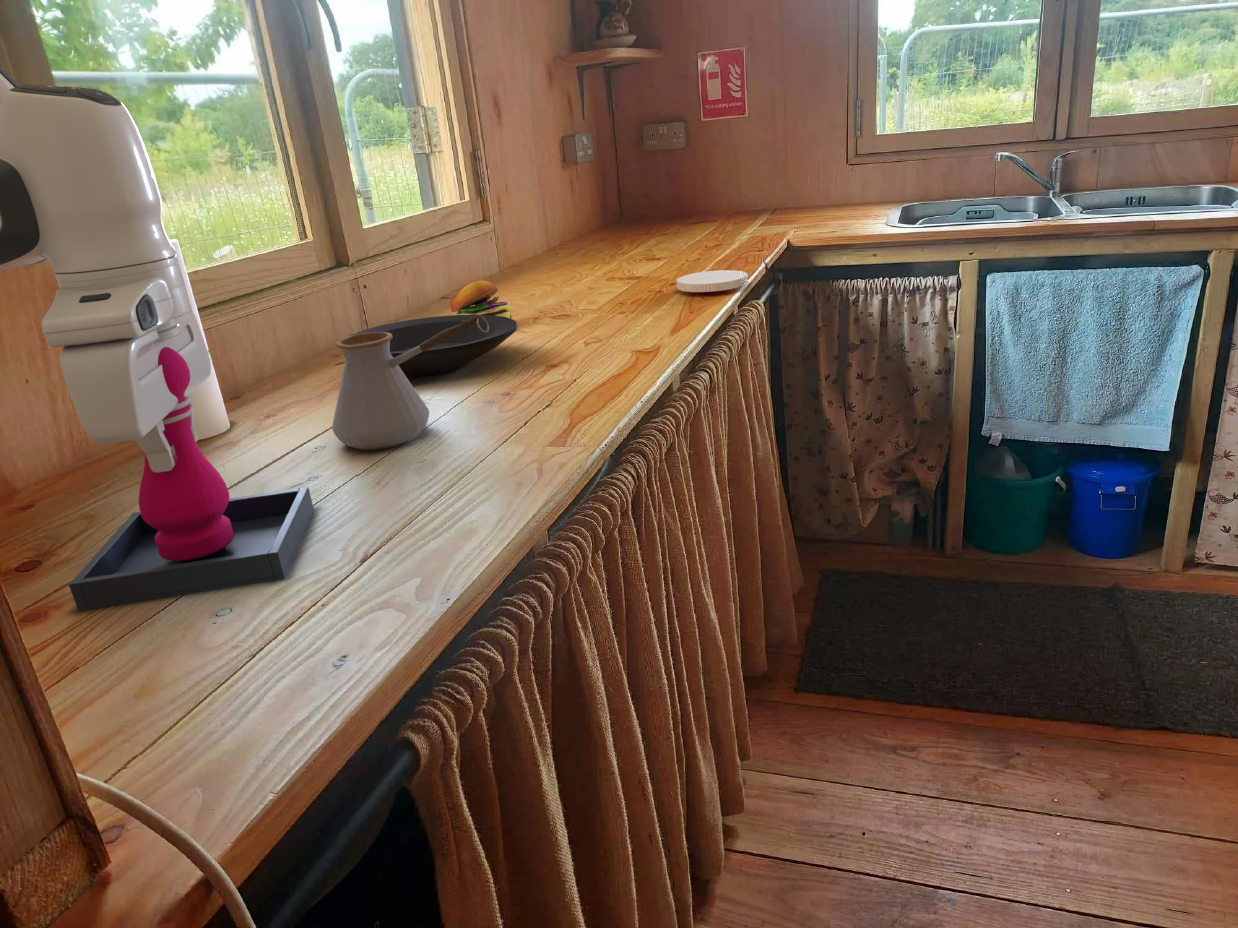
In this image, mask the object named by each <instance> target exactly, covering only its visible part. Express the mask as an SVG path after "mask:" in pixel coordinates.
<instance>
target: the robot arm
mask: <svg viewBox="0 0 1238 928" xmlns="http://www.w3.org/2000/svg"><path fill="white" fill-rule="evenodd" d="M170 240H171V239H170V238H169V237H168V235H167V233H166V230H165V228H164V223H163V219H162V198H161V194H160V189H159V187H158V184H157V180H156V175H155V173H154V171H153V167H152V164H151V161H150V158H149V155H148V151H147V149H146V146H145V144H144V140H143V139H142V135H141V134H140V131H139V128H138V127H137V125H136V123H135V121H134V118H133V117H132V115H131V113H130V112H129V110H128V109H127V108H126V106H125V105H124V104H123V102H122V101H121V100H120V99H118V98H117V97H115V96H114V95H112V94H110V93H108V92H106V91H104V90H103V91H102V90H100V89H95V88H88V87H78V86H67V85H66V86H65V85H64V86H62V85H61V86H59V85H49V84H48V85H47V84H23V85H21V84H20V83H19V82H18V81H17V80H15V78H14V77H13V76H12V75H11V74H10V73H9V72H8V71H6V70H5V68H3V67H2V65H0V272H1V271H5V270H10V269H15V268H22V267H27V266H34V265H38V264H42V263H48V262H49V263H50V265H51V267H52V269H53V272H54V276H55V279H56V283H57V285H58V289H56V291H55V296H54V300H53V301H52V304H51V305H50V307H49V309H48V310H47V312H46V313H45V315H44V316H43V317H42V319H41V329H42V333H43V336H44V339H45V341H46V343H47V345H48V346H49V347H50V348H62V349H61V351H60V355H59V361H60V363H59V364H60V368H61V373H62V376H63V379H64V381H65V384H66V387H67V390H68V393H69V396H70V398H71V401H72V403H73V406H74V409H75V411H76V413H77V416H78V418H79V420H80V424H81V426H82V427H83V429H84V431H85V433H86V434H87V435H88V436H89V437H90V438H91V439H92V440H93V442H95V443H96V444H98V445H111V444H119V443H125V442H126V443H127V442H132V441H134V442H135V443H136V445H137V446H138V447H139V448H140V450H141V451H142V452H143V454H144V453H145V454H146V456H147V459H148V463H149V466H150V469H151V470H152V471H153V472H156V473H158V472H165V471H170V470H171V469H172V468H173V467H174V466H175V465H176V464H177V462H178V458H177V456H176V452H175V448H174V445H169V444H168V442H167V440H166V438H165V436H164V434H163V431H164V430H165V428H164V425H163V421H162V419H163V418H164V417H166V416H167V415H168V414H169V413H170V412H171V411H172V410H173V409H174V408H175V406H176V405H177V404H178V399H177V397H176V396H174V395H173V394H172V393H171V392H170V391H169V389H168V387H167V384H166V382H165V378H164V375H163V369H162V365H158V356H159V353H160V351H161V349H162V348H164V347H169V348H171V349H173V350H175V351H176V352H178V353H179V354H180V355H181V356H182V357H183V358H184V360H185V361H186V363H187V365H188V368H189V370H190V376H191V377H190V382H189V385H188V387H187V389H186V391H185V395H184V397H186V396H187V397H189V398H190V399H191V402H190V405H191V407H192V408H193V413H192V414H191V415H190V416H189V418H190V425H191V430H192V434H193V437H194V440H195V442H196V443H198V441H199V440H198V437H197V433H196V430H195V426H194V401H193V398H192V394H191V393H192V392H193V391H194V390H195V389H196V388H197V387H198V386H199V385H200V384H201V383H203V382H204V381H205V380H206V379H207V378H208V377H209V376H210V374H211V365H210V359H209V355H208V352H207V349H206V346H205V343H204V340H203V337H202V334H201V331H200V328H199V325H198V323H197V320H196V317H195V315H194V313H193V311H192V308H191V304H190V301H189V297H188V293H187V290H186V286H185V283H184V279H183V276H182V272H181V268H180V265H179V261H178V258H177V255H176V251H175V249H174V247H173V245H172V243H171V242H170Z"/></svg>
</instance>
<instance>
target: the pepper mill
mask: <svg viewBox="0 0 1238 928" xmlns="http://www.w3.org/2000/svg"><path fill="white" fill-rule="evenodd" d="M158 365H162V369H163V375H164V378H165V382H166V384H167V387H168V389H169V391H170V392H171V393H172V394H173V395H174V396H176V397H177V399H178V404H177V405H176V406H175V408H174V409H173V410H172V411H171V412H170V413H169V414H168V415H167V416H166V417H164V418H163V419H162V421H163V425H164V428H165V430H164V431H163V434H164V436H165V438H166V440H167V442H168V444H169V445H174V448H175V452H176V456H177V458H178V462H177V464H176V465H175V466H174V467H173V468H172V469H171V470H170V471H165V472H158V473H156V472H153V471H152V470H151V469H150V466H149V463H148V459H147V456H146V454H145V453H144V452H143V454H144V463H143V464H144V465H143V471H142V476H141V479H140V484H139V490H138V491H139V492H138V506H139V512H140V513H141V516H142V518H143V520H144V521H145V522H146V523H147V524H149V525H150V526H152V527H153V528H155V529H157V530H159V531H158V532H157V534H156V535H155V542H156V545H157V549H158V552H159V555H160V556H161V557H162V558H164V559H166V560H172V561H183V560H191V559H196V558H201V557H204V556H207V555H210V554H213V553H215V552H217V551H219V550H221V549H223V548H224V547H226V546H227V545H229V544H230V543H231V542H232V540H233V537H234V535H233V530H232V526H231V523H230V519H229V518H227V517H226V516H224V515H222V514H223V513H224V511H225V509H226V508H227V505H228V503H229V499H230V498H231V497H230V491H229V489H228V487H227V483H226V481H225V480H224V478H223V477H222V475H221V473H220V472H219V471H218V470H217V469H216V467H215V466H214V464H212V463H211V462H210V461H209V459H208V458H206V456H205V455H204V453H203V452H202V450H201V449H200V448H199V446H198V444H197V442H195V440H194V437H193V434H192V430H191V425H190V418H189V416H190V415H191V414H192V413H193V408H192V407H191V405H190V402H191V399H190V398H189V397H187V396H186V397H184V395H185V391H186V389H187V387H188V385H189V382H190V377H191V376H190V370H189V368H188V365H187V363H186V361H185V360H184V358H183V357H182V356H181V355H180V354H179V353H178V352H176V351H175V350H173V349H171V348H169V347H164V348H162V349H161V351H160V353H159V356H158Z"/></svg>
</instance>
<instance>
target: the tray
mask: <svg viewBox="0 0 1238 928" xmlns="http://www.w3.org/2000/svg"><path fill="white" fill-rule="evenodd" d="M229 498H230V499H229V503H228V505H227V508H226V509H225V511H224V513H223V514H222V515H224V516H226V517H227V518H229V519H230V523H231V526H232V530H233V535H234V537H233V540H232V542H231V543H230V544H229V545H227V546H226V547H224V548H223V549H221V550H219V551H217V552H215V553H213V554H210V555H207V556H204V557H201V558H196V559H191V560H183V561H172V560H166V559H164V558H162V557H161V556H160V555H159V552H158V549H157V545H156V542H155V535H156V534H157V532H158V531H159V530H157V529H155V528H153V527H152V526H150V525H149V524H147V523H146V522H145V521H144V520H143V518H142V516H141V513H140V511H135V512H132V513H131V514H130V516H129V517H128V518H127V519H126V520H125V521H124V522H123V524H122V525H120V527H119V528H117V530H116V531H115V533H113V535H112V536H111V537H110V538H109V539H108V540H107V541H106V542H105V543H104V544H103V546H102V547H101V548H100V549H99V550H98V551H97V552H96V553H95V555H94V556H93V557H92V558H91V559H90V561H88V563H86V564H85V565H84V567H83V568H82V569H81V570H80V571H79V573H77V574H76V576H75V577H74V578H73V579H72V580H71V581H70V582H69V584H68V587H69V589H70V592H71V594H72V597H73V600H74V602H75V605H76V608H77V610H78V612H85V611H92V610H99V609H105V608H111V607H118V606H124V605H129V604H130V605H131V604H136V603H142V602H149V601H154V600H161V599H168V598H174V597H179V596H188V595H193V594H194V595H195V594H199V593H205V592H211V591H217V590H224V589H225V590H226V589H230V588H231V589H232V588H236V587H245V586H250V585H257V584H263V583H270V582H276V581H282V580H285V579H286V578H287V575H288V573H289V570H290V568H291V566H292V563H293V561H294V558H295V556H296V554H297V551H298V549H299V547H300V544H301V542H302V540H303V537H304V535H305V533H306V530H307V528H308V526H309V523H310V521H311V518H312V516H313V513H314V511H315V508H314V504H313V500H312V497H311V492H310V488H309V486H304V487H298V488H290V489H284V490H277V491H270V492H263V493H257V494H249V495H243V496H237V497H229Z"/></svg>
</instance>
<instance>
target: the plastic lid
mask: <svg viewBox="0 0 1238 928" xmlns="http://www.w3.org/2000/svg"><path fill="white" fill-rule="evenodd" d="M675 281H676V289H677V290H679V291H682V292H687V293H710V292H711V293H712V292H721V291H722V292H723V291H727V290H728V291H729V290H733V289H737V288H740V287H743V286H745V285H747V284H748V273H747V272H745V271H742V270H733V269H731V270H730V269H728V270H727V269H726V270H724V269H721V270H720V269H719V270H708V271H707V270H706V271H699V272H693V273H689V274H685V275H682V276H680V277H677V278H676V280H675Z"/></svg>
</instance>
